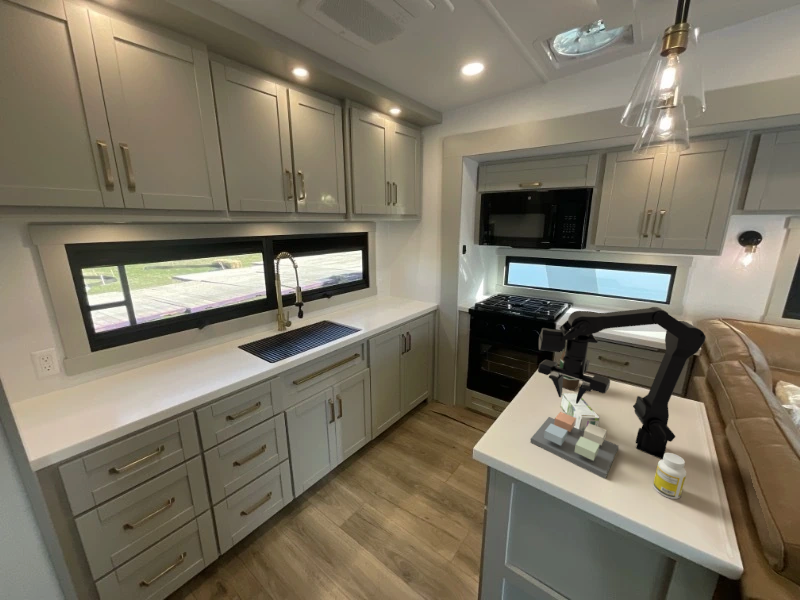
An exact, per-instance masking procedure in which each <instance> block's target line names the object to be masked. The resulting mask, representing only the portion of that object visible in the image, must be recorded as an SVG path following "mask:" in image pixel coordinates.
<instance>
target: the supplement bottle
mask: <svg viewBox="0 0 800 600" xmlns="http://www.w3.org/2000/svg"><path fill="white" fill-rule="evenodd" d="M685 464H686V461H685V460H684V458H683V457H681V456H680V455H678V454H676V453H672V452H665V454H664V456H663V459H660V460H658V463H657V466H656V471H655V475H654V478H653V479H654V480H653V486H652V487H653V488H654V489H655V491H657V492H658V493H659V494H660V495H662V496H663V497H664V498H665V497H666V498H667V499H672V500H677V499H680V498H681V495H682V492H683V487H684V485H685V484H684V483H685V480H686V477H687V471H686V469H685V468H684V467H685Z"/></svg>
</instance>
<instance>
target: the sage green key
mask: <svg viewBox="0 0 800 600" xmlns="http://www.w3.org/2000/svg"><path fill="white" fill-rule="evenodd" d="M599 445H600V444H598V443H596V442H593V441H591V440H589V439H586V438H584V437H582V436H581V437H580V438H579V440H578V442H577V443H576V446H575V451H574V452H576V453H578V454H580V455H582V456H584V457H586V458H589V459H591V460H593V461H594V459H595V457H596V455H597V453H598V450H599Z"/></svg>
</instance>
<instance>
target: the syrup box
mask: <svg viewBox="0 0 800 600" xmlns="http://www.w3.org/2000/svg"><path fill="white" fill-rule="evenodd" d="M577 395H578V393H572V392H571V393H569V392H567V393H566V392H562V396H561V399H560V408H561V409H562V411H563V413H565V414H567V415H570V416H572V417H575V418H576V423H575V426H574V427H575V428H577V429H580V430H582V431H584V430H585V429H586V427H587V426H588V424H589V423H590V424H592V425H595V426H597V427H599V422H600V416H599V415H598V414H597V413H596V412H595V410H593V408H592V407H591V406H590V405H589V404H588V403H587V402H586V400H584V398H583V397H582V398H581V399H580V401H579V402H578V404H576V399H577Z"/></svg>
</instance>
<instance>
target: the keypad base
mask: <svg viewBox="0 0 800 600" xmlns="http://www.w3.org/2000/svg"><path fill="white" fill-rule="evenodd" d="M554 422H555V418H553V417H550V416H548V417H547V418H546V419H545V421H544V422H543V423H542V425H541V426H539V428H538V429H537V430H536V431H535V432H534V434H533V435H532V436H531V438H530V442H529V443H531V444H533V445H534V446H537V447H538V448H541V449H543V450H545V451H546V452H548V453H549V452H550V453H551V454H553V455H556V456H557V457H560V458H561V459H563V460H566V461H567V462H570V463H572V464H574V465H576V466H577V467H580V468H582V469H585V470H586V471H588V472H590V473H593V474H595V475H597V476H598V477H601V478H603V479H606V478H607V476H608V474H609V471H610V469H611V467H612V464H613V462H614V460H615V457H616V455H617V453H618V451H619V445H618V444H616V443H613V442H611V441H609V440H606V439H604V441H603V443H602V445H599V450H598V453H597V455H596V457H595V459H594V461H593V460H591V459H589V458H586V457H584V456H582V455H580V454H578V453H576V452H574V451H575V446H576V443H577V442H578V440H579V438H580V437H581V436H582V437H583V436H584V431H582V430H580V429H577V428H576V427H575V426H574V427H573V429H572V430H571V432H569V431H567V437H566V439H565V440H564V442H563V443H562V445H561V446H560V445H558V444H556V443H554V442H552V441H550V440H547V439H545V438H544V434H545V430H546V429H547V428H548V426H549V425H550V424H553V425H554Z"/></svg>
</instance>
